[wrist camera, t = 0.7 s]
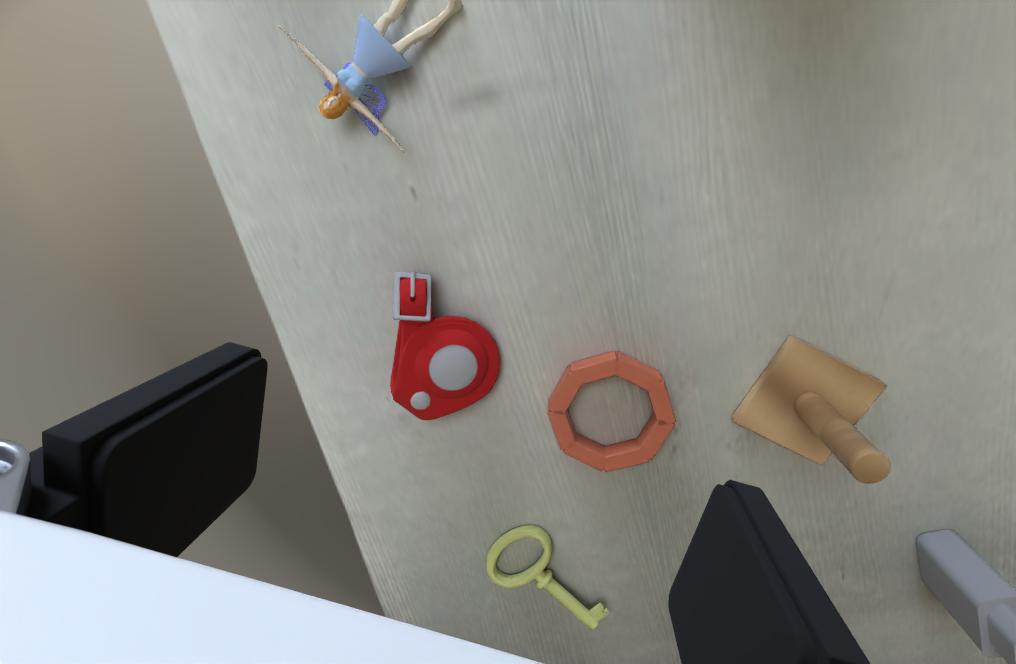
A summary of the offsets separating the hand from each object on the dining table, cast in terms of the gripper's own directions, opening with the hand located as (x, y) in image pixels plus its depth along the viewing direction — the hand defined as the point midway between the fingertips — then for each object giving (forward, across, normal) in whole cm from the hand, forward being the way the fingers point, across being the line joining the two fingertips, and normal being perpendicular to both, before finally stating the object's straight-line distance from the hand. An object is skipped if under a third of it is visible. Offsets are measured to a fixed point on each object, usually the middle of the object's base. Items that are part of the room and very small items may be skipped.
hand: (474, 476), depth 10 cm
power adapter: (+32, -39, +16) cm, 53 cm away
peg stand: (+32, -23, +6) cm, 40 cm away
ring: (+32, -9, +11) cm, 35 cm away
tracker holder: (+32, +6, +9) cm, 34 cm away
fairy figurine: (+31, +14, -11) cm, 36 cm away
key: (+32, -8, +29) cm, 44 cm away
